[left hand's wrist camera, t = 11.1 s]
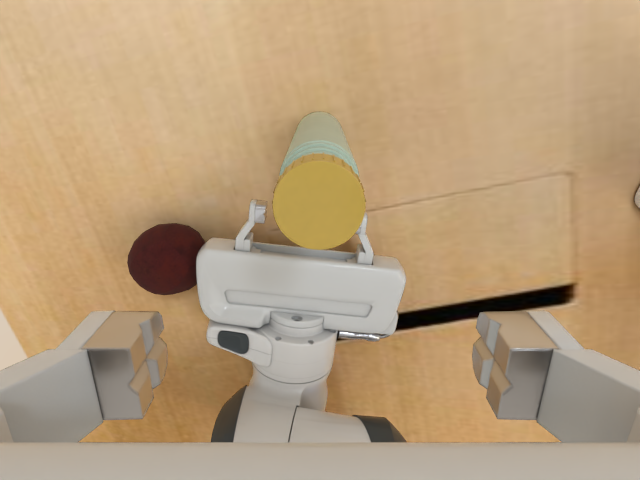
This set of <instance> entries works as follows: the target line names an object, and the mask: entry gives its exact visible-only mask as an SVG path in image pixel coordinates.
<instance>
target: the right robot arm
mask: <svg viewBox="0 0 640 480" xmlns="http://www.w3.org/2000/svg"><path fill="white" fill-rule="evenodd" d="M266 209H267V201H262V200H254V199H252V201H251V202H250V209H249V218H248V220H247V221H246V222H245V224H244V225H243V227H242V228H241V229H240V231H239V233H238V235H237V237H236V240H233V239H224V238H210V239H209V240H208V241H207V242H206V243H205V244H204V245H203V246H202V247H201V249H200V250H199V252H198V255H197V259H196V277H197V288H198V296H199V302H200V306H201V308H202V310H203V312H204V314H205V315H206V316H207V317H208V318H209V319H210V320H209V324H208V328H207V341H208V342H209V343H210V344H211V345H213V346H216V347H218V348H221V349H224V350H226V351H229V352H232V353H234V354H236V355H239V356H241V357H243V358H245V359H248V360H250V361H252V366H253V376H252V378H251V380H250V384H249V386H247V385H246V386H244V387H243V388H241V389H240V390H239V391H238V392H237V393H236V394H234V395H233V396H232V397H231V398H230V399H229V400H228V401H227V402H226V403H225V405H224V406H223V407H222V409H221V411H220V413H219V415H218V417H217V420H216V422H215V425H214V429H213V433H212V438H211V442H406V440H405V439H404V438H403V436H402V435H401V434H400V433H399V431H398V430H397V429H396V428H395V427H394V426H393V425H392V424H391V423H390V422H389V421H388V420H387V419H386V418H384V417H373V416H361V415H353V416H349V415H343V414H337V413H331V412H326V411H325V408H326V403H327V397H328V388H327V383H326V380H327V377H328V376H329V374H330V371H331V369H332V365H333V359H334V352H335V346H336V339H337V338H342V339H361V340H362V339H363V340H367V341H372V342H376V341H379V340H380V339H381V338H386V337H388V336H390V335H391V334H393V333H394V331H395V329H396V325H397V320H398V311H397V309H398V306H399V303H400V301H401V298H402V294H403V291H404V288H405V284H406V275H405V271H404V269H403V267H402V265H401V264H400V263H399V261H398V260H397V259H396V258H394V257H388V256H379V255H373V254H374V253H373V250H372V246H371V243H370V241H369V239H368V236H367V234H366V226H367V213H366V212H365V214H364V218H363V221H362V223H361V225H360V227H359V229H358V230H357V232H356V233H355V234H358V235H359V238H360V240H361V243H362V244H358V245H357V250H356V253H351V252H342V251H333V250H312V249H307V248H304V247H297V246H287V245H278V244H269V243H260V242H253V232H249V231H250V230H251V229H252V227H253V226H254V224H255V223H265V220H266V216H267V210H266ZM380 334H381V335H380Z"/></svg>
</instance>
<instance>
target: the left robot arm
mask: <svg viewBox="0 0 640 480" xmlns="http://www.w3.org/2000/svg"><path fill="white" fill-rule="evenodd" d="M635 203H636V205H637V206H638V207H639V208H640V187H639V188H638V190H637V193H636V195H635ZM163 329H164V326H163V321H162V316H161V315H160V313H159V312H147V311H93V312H91V313H90V314H89V315H88V316H87V317H86V318H85V319H84V320H83V321H82V322H81V323H80V324H79V325H78V326H77V327H76V328H75V329H74V330H73V331H72V332H71V334H70V335H69V336H68V337H67V338H66V339H65V340H64V341H63V342H62V343H61V344H60V345H59V346H58V347H57V348H56V349H48V350H46V351H43V352H41V353H39V354H37V355H34V356H32V357H30V358H28V359H25V360H23V361H21V362H19V363H17V364H14V365H12V366H10V367H7V368H5V369H3V370H1V371H0V480H640V371H639V370H637V369H635V368H632V367H630V366H628V365H626V364H623V363H621V362H619V361H617V360H615V359H612V358H610V357H608V356H606V355H603V354H601V353H599V352H597V351H594V350H592V349H584V348H583V347H582V346H581V345H580V344H579V343H578V342H577V341H576V340H575V339H574V338H573V337H572V336H571V334H570V333H569V332H568V331H567V330H566V329H565V328H564V327H563V326H562V325H561V324H560V323H559V322H558V321H557V320H556V319H555V318H554V317H553V316H552V315H551V314H550V313H549V312H547V311H544V310H542V311H508V312H481V313H480V314H479V317H478V319H477V325H476V329H477V330H478V332H479V334H480V335H481V337H480V338H479V339H478V340H477V341H476V342H475V343H474V345H473V354H472V360H473V369H474V373H475V376H476V378H477V380H478V382H479V384H480V385H482V386H483V387H485V388H486V389H487V396H486V398H487V400H488V402H489V404H490V406H491V408H492V410H493V411H494V413H495V415H496V417H497V419H514V420H537V423H539V424H540V425H541V426H542V427H544V428H545V429H546V430H547V431H549V432H550V433H551V434H552V435H554V436H555V437H556V438H558V439H559V440H560V441H561V442H79V441H80V440H81V439H83V438H84V437H85V436H86V435H88V434H89V433H90V432H91V431H93V430H94V429H95V428H96V427H98V426H99V425H100V424H102V423H103V420H126V419H143V417H144V415H145V413H146V412H147V410H148V408H149V406H150V404H151V402H152V400H153V398H154V396H153V389H154V388H155V387H157V386H158V385H160V384H161V382H162V380H163V378H164V376H165V372H166V368H167V363H168V352H167V345H166V343H165V342H164V341H163V340H162V339H161V338H160V337H159V335H160V334H161V332H162V330H163Z"/></svg>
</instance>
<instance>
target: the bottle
mask: <svg viewBox="0 0 640 480" xmlns="http://www.w3.org/2000/svg"><path fill="white" fill-rule="evenodd" d="M312 153H314V154H316V153H322V154H323V153H324V154H329V155H335V157H338V158H340V159H343V160H344V162H346V163H347V164H348V165H349V166H352V169H353V170H354V172H355V173H356V174H358V177H359V173H358V169H357V165H356V163H355V160H354V158H353V155H352V153H351V150H350V148H349V145H348V142H347V140H346V137H345V135H344V132H343V130H342V127H341V125H340V123H339V122H338V120H337V119H336V118H335V117H334V116H332V115H330V114H328V113H326V112H313V113H310V114H308V115H307V116H305V117H304V118H303V119H302V120H301V121H300V123H299V125H298V127H297V129H296V132H295V134H294V137H293V139H292V142H291V144H290V146H289V149H288V151H287V154H286V156H285V159H284V161H283V164H282V166H281V170H280V175H282V174H283V172H284V170H285V167H288V166H289V165H290V164H291V163H292V162H293V160H297V159H299V158H301V157H302V155H304V156H306V155H309V154H312ZM280 175H279V176H280Z"/></svg>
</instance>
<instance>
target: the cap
mask: <svg viewBox="0 0 640 480" xmlns="http://www.w3.org/2000/svg"><path fill="white" fill-rule="evenodd" d="M363 192H364V189H363V186H362V183H360V179H359V177H358V174H356V173H355V172H354V170H353V169H352V166H349V165H348V164H347V163H346V162H344V160H343V159H340V158H338V157H335V155H329V154H324V153H323V154H322V153H316V154H314V153H312V154H309V155H306V156H304V155H302V157H301V158H299V159H297V160H293V162H292V163H291V164H290V165H289V166H288V167H285V170H284V172H283V174H282V175H280V176H279V179H278V182H277V184H276V187H275V189H274V192H273V193H274V197H273V201H272V204H273V214H274V218H275V221H276V223H277V225H278V227H279V229H280V230H281V231H282V233H283V234H284V235H285V236H286V237H287V238H288V239H289V240H291V241H292V242H294V243H295V244H297V245H299V246H301V247H304V248H307V249H312V250H325V249H331V248H334V247H337V246H339V245H341V244H343V243H345V242H346V241H348V240H349V239H350V238H351V237H352V236H353V235H354V234H355V233H356V232H357V230H358V229H359V227H360V225H361V223H362V221H363V218H364V214H365V202H366V200H365V196H364V193H363Z"/></svg>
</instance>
